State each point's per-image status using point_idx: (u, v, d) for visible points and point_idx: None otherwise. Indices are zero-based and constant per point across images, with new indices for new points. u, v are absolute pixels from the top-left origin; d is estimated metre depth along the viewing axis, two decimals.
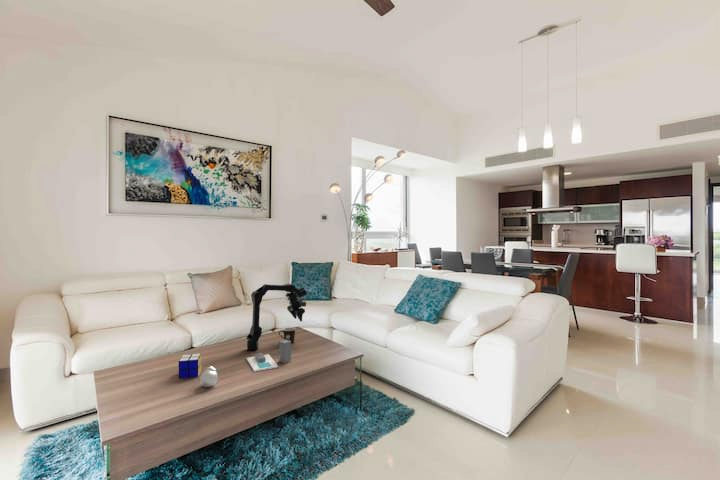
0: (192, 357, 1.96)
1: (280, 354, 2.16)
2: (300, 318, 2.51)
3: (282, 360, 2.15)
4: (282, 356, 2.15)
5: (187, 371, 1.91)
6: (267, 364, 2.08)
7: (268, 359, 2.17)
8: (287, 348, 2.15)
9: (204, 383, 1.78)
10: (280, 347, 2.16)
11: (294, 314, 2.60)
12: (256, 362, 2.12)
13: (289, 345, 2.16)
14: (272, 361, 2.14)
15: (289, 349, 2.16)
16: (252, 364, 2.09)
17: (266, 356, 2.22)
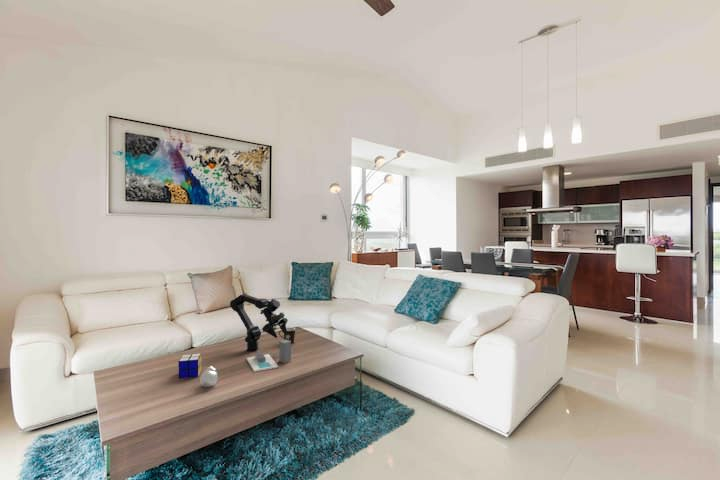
0: (192, 357, 1.96)
1: (280, 354, 2.16)
2: (273, 334, 2.20)
3: (282, 360, 2.15)
4: (282, 356, 2.15)
5: (187, 371, 1.91)
6: (267, 364, 2.08)
7: (268, 359, 2.17)
8: (287, 348, 2.15)
9: (204, 383, 1.78)
10: (280, 347, 2.16)
11: (283, 329, 2.29)
12: (256, 362, 2.12)
13: (289, 345, 2.16)
14: (272, 361, 2.14)
15: (289, 349, 2.16)
16: (252, 364, 2.09)
17: (266, 356, 2.22)
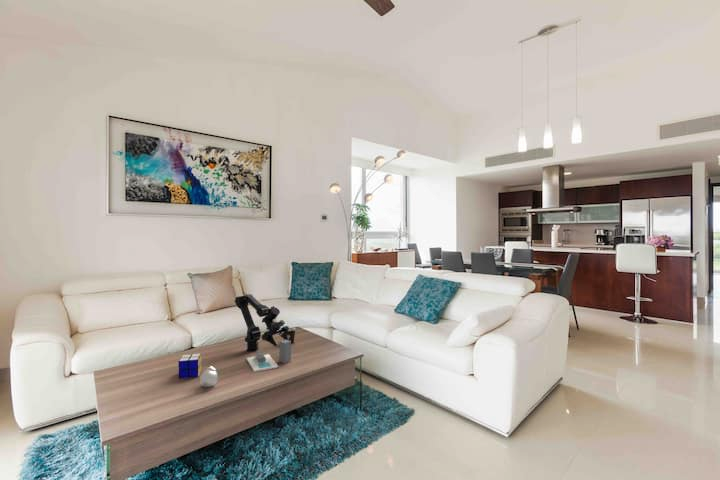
0: (192, 357, 1.96)
1: (280, 354, 2.16)
2: (272, 343, 2.15)
3: (282, 360, 2.15)
4: (282, 356, 2.15)
5: (187, 371, 1.91)
6: (267, 364, 2.08)
7: (268, 359, 2.17)
8: (287, 348, 2.15)
9: (204, 383, 1.78)
10: (280, 347, 2.16)
11: (284, 337, 2.24)
12: (256, 362, 2.12)
13: (289, 345, 2.16)
14: (272, 361, 2.14)
15: (289, 349, 2.16)
16: (252, 364, 2.09)
17: (266, 356, 2.22)
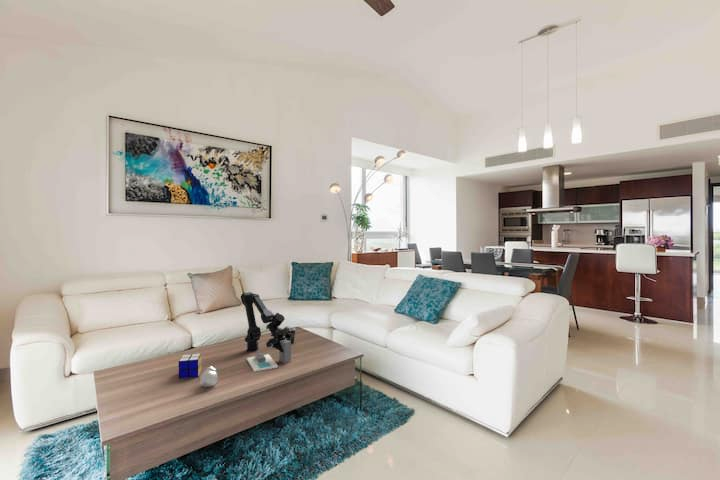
0: (192, 357, 1.96)
1: (280, 354, 2.16)
2: (279, 349, 2.14)
3: (282, 360, 2.15)
4: (282, 356, 2.15)
5: (187, 371, 1.91)
6: (267, 364, 2.08)
7: (268, 359, 2.17)
8: (287, 348, 2.15)
9: (204, 383, 1.78)
10: None
11: None
12: (256, 362, 2.12)
13: (289, 345, 2.16)
14: (272, 361, 2.14)
15: (289, 349, 2.16)
16: (252, 364, 2.09)
17: (266, 356, 2.22)
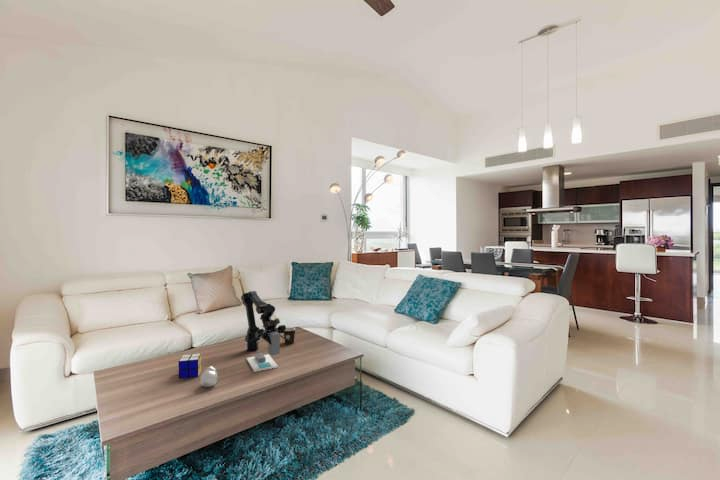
0: (192, 357, 1.96)
1: (269, 346, 2.10)
2: (267, 341, 2.09)
3: (270, 352, 2.09)
4: (270, 348, 2.09)
5: (187, 371, 1.91)
6: (267, 364, 2.08)
7: (268, 359, 2.17)
8: (275, 340, 2.09)
9: (204, 383, 1.78)
10: None
11: None
12: (256, 362, 2.12)
13: (277, 337, 2.10)
14: (272, 361, 2.14)
15: (277, 341, 2.10)
16: (252, 364, 2.09)
17: (266, 356, 2.22)
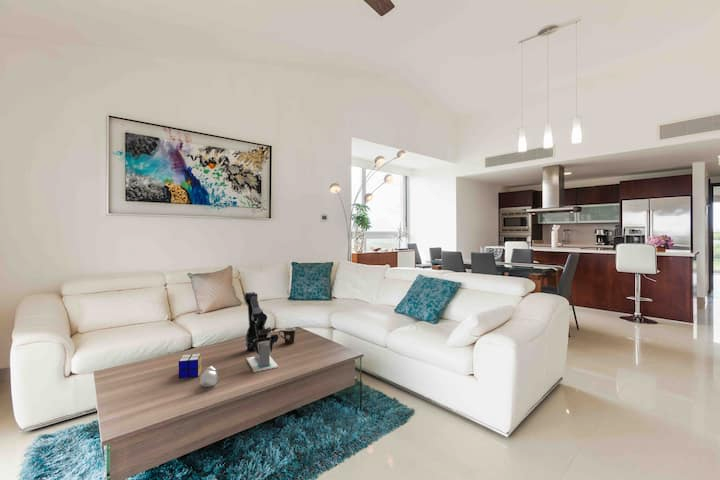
0: (192, 357, 1.96)
1: (259, 357, 2.08)
2: (255, 350, 2.06)
3: (260, 364, 2.06)
4: (260, 360, 2.06)
5: (187, 371, 1.91)
6: None
7: None
8: (265, 352, 2.05)
9: (204, 383, 1.78)
10: (259, 350, 2.07)
11: (270, 346, 2.10)
12: (256, 362, 2.12)
13: (267, 349, 2.06)
14: (272, 361, 2.14)
15: (267, 353, 2.06)
16: (252, 364, 2.09)
17: None
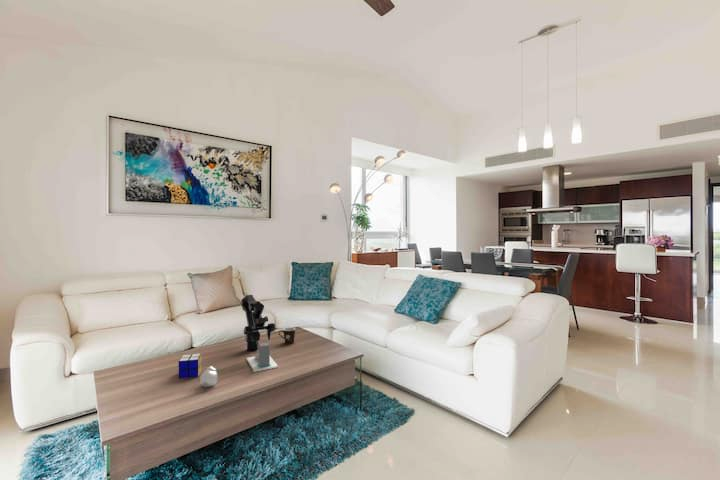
0: (192, 357, 1.96)
1: (259, 357, 2.08)
2: (251, 338, 2.13)
3: (260, 364, 2.06)
4: (260, 360, 2.06)
5: (187, 371, 1.91)
6: None
7: None
8: (265, 352, 2.05)
9: (204, 383, 1.78)
10: (259, 350, 2.07)
11: (268, 334, 2.19)
12: (256, 362, 2.12)
13: (267, 349, 2.06)
14: (272, 361, 2.14)
15: (267, 353, 2.06)
16: (252, 364, 2.09)
17: None
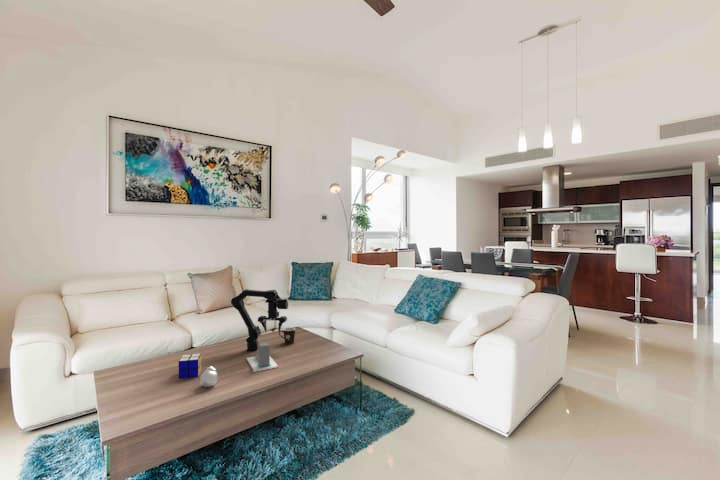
0: (192, 357, 1.96)
1: (259, 357, 2.08)
2: (280, 327, 2.35)
3: (260, 364, 2.06)
4: (260, 360, 2.06)
5: (187, 371, 1.91)
6: None
7: None
8: (265, 352, 2.05)
9: (204, 383, 1.78)
10: (259, 350, 2.07)
11: (265, 326, 2.36)
12: (256, 362, 2.12)
13: (267, 349, 2.06)
14: (272, 361, 2.14)
15: (267, 353, 2.06)
16: (252, 364, 2.09)
17: None
